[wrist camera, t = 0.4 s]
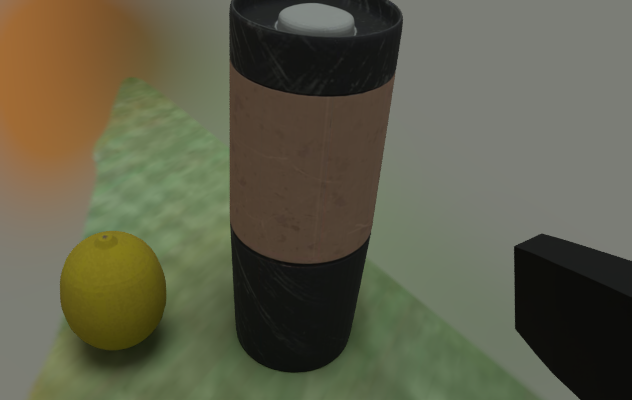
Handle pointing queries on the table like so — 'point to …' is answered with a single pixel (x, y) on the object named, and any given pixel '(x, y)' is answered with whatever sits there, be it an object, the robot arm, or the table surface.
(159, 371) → the table surface
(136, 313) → the lemon
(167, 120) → the table surface
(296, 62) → the travel mug
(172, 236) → the table surface
